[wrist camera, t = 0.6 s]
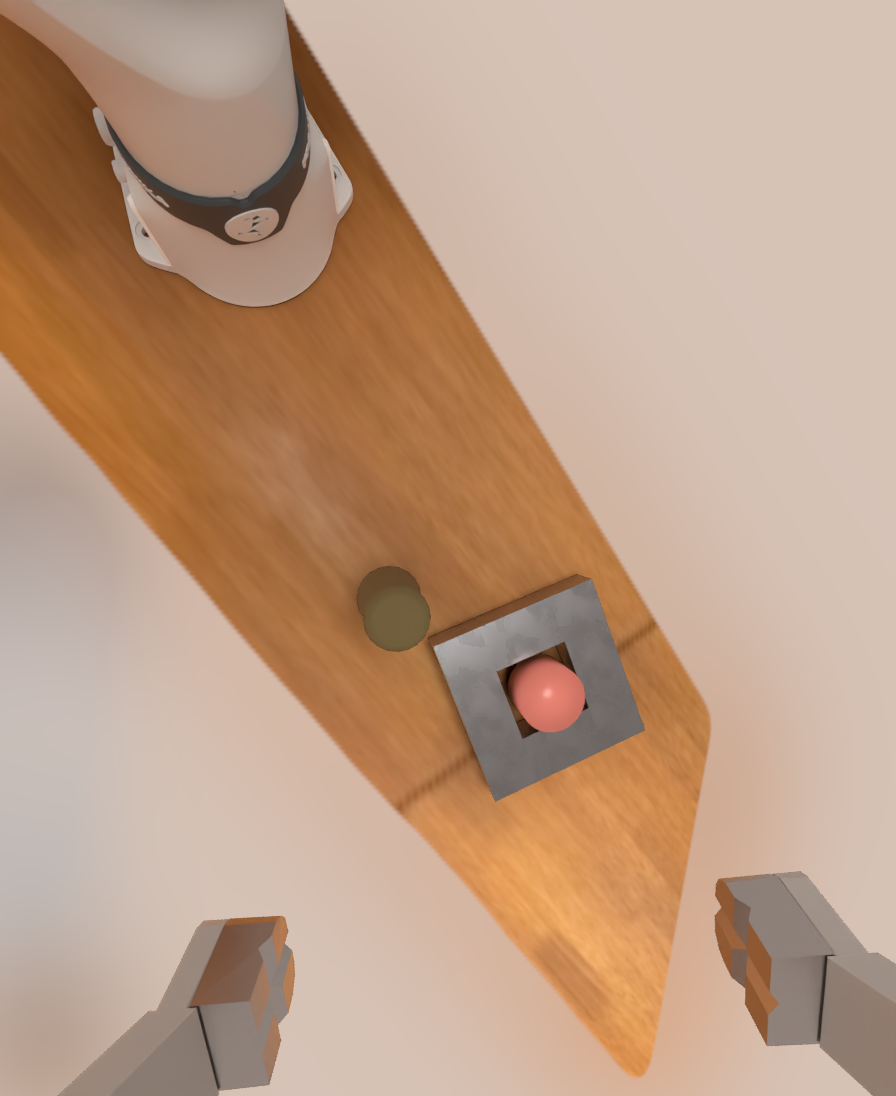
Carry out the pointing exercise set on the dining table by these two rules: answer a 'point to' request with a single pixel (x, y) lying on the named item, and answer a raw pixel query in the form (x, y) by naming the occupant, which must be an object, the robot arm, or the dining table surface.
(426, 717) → the dining table surface
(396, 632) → the olive pepper mill
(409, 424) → the dining table surface
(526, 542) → the dining table surface
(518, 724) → the switch box
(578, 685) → the button
